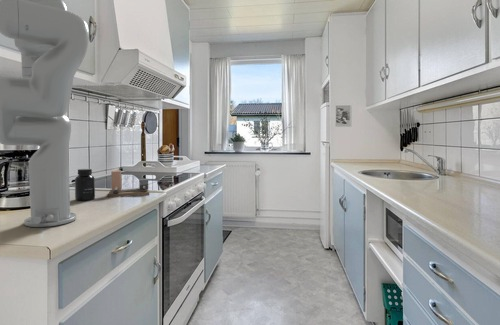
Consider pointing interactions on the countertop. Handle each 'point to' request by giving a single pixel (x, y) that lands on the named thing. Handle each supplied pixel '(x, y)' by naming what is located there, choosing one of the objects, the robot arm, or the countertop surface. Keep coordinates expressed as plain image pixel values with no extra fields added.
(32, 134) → the robot arm
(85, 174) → the supplement bottle
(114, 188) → the sliding leg
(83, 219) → the countertop surface
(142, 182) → the gauge board
